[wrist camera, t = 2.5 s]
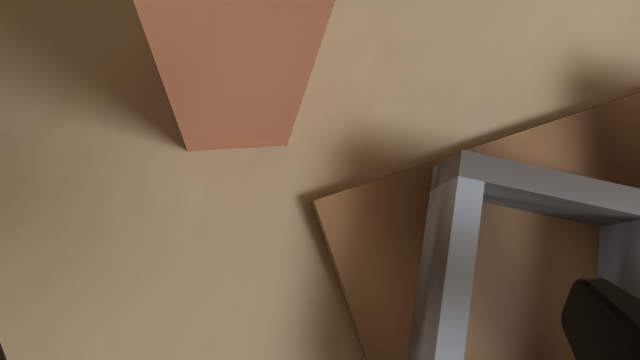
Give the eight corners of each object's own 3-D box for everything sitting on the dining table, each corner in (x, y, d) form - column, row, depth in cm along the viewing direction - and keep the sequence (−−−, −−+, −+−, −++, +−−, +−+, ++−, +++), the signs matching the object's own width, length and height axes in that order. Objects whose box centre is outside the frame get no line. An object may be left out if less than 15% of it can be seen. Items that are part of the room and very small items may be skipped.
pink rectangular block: (286, 144, 23) (341, -20, 11) (187, 150, 22) (126, -18, 10) (276, 32, 24) (317, -238, 12) (181, 34, 23) (118, -248, 11)
